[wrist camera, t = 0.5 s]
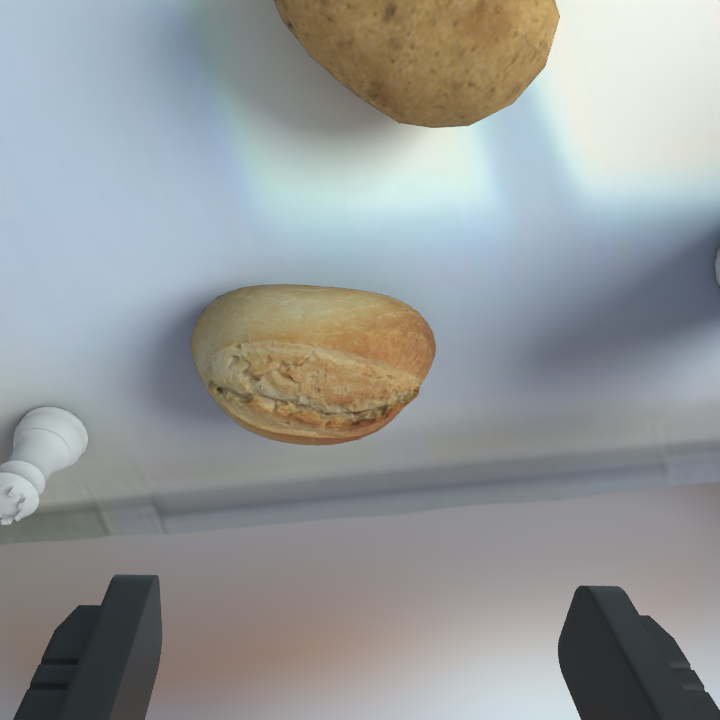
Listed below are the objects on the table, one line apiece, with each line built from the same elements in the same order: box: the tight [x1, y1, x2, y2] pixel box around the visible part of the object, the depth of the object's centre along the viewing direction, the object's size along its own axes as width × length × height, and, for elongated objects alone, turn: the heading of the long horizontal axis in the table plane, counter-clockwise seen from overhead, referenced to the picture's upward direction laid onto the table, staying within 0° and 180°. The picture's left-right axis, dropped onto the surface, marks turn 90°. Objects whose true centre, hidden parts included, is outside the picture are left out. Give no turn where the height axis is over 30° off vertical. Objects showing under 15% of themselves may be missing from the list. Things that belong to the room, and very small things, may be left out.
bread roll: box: [191, 284, 435, 445], centre depth 36 cm, size 10×15×8 cm, turn 88°
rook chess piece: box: [0, 407, 88, 525], centre depth 37 cm, size 4×4×8 cm
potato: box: [274, 0, 560, 128], centre depth 28 cm, size 10×14×8 cm
